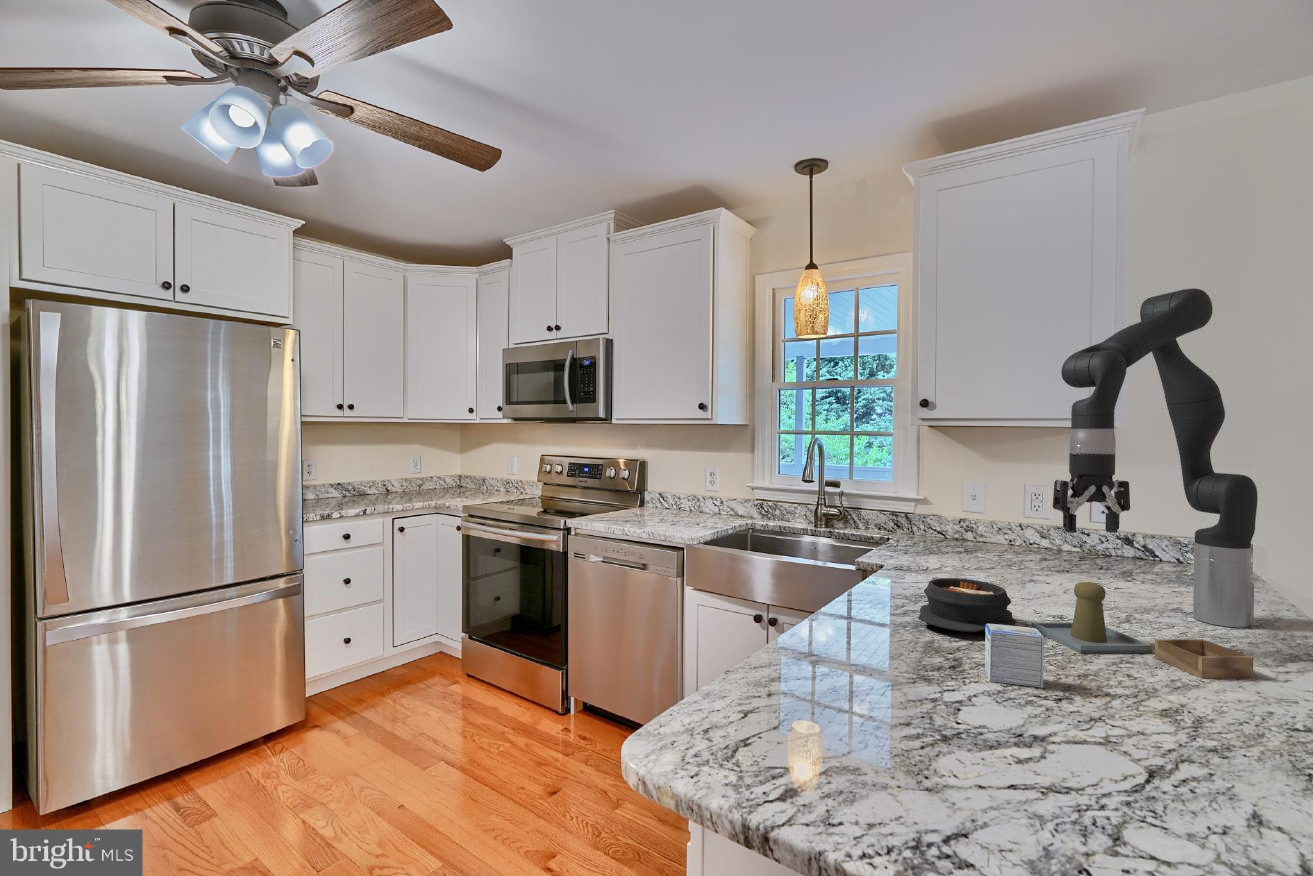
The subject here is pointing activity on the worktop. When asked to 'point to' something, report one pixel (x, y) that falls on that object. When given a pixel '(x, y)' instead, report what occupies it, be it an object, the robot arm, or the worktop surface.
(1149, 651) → the tray
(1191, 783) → the worktop surface
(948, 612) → the casserole
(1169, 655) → the holder
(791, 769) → the worktop surface
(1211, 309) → the robot arm
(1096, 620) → the cork
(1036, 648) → the medicine box
